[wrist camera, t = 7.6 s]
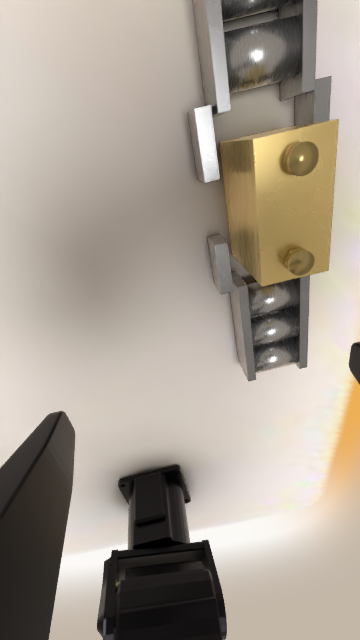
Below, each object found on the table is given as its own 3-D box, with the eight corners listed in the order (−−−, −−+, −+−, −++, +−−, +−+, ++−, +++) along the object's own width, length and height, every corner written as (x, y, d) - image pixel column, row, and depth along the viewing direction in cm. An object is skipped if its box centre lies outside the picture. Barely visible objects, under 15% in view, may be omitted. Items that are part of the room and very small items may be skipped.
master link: (282, 241, 20) (336, 275, 14) (231, 253, 20) (267, 292, 14) (280, 128, 16) (349, 117, 11) (219, 142, 16) (259, 138, 11)
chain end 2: (304, 346, 24) (319, 364, 22) (227, 365, 24) (235, 385, 22) (306, 212, 19) (327, 220, 17) (207, 236, 19) (215, 247, 17)
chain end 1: (308, 152, 17) (331, 153, 15) (198, 179, 17) (206, 183, 15) (314, -162, 11) (353, -231, 9) (150, -124, 11) (153, -184, 9)
